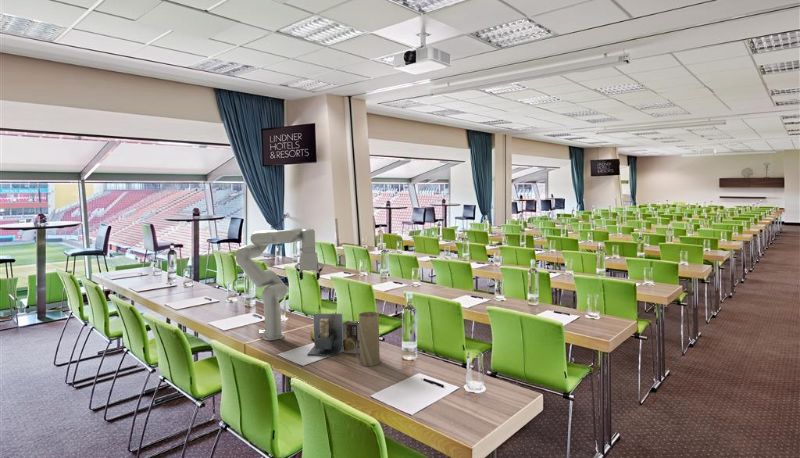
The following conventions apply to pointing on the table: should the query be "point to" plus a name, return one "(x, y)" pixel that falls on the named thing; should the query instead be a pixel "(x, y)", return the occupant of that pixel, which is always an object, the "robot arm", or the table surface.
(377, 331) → the tube
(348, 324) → the coffee box
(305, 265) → the robot arm
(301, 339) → the table surface
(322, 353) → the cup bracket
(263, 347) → the table surface
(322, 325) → the wooden block
